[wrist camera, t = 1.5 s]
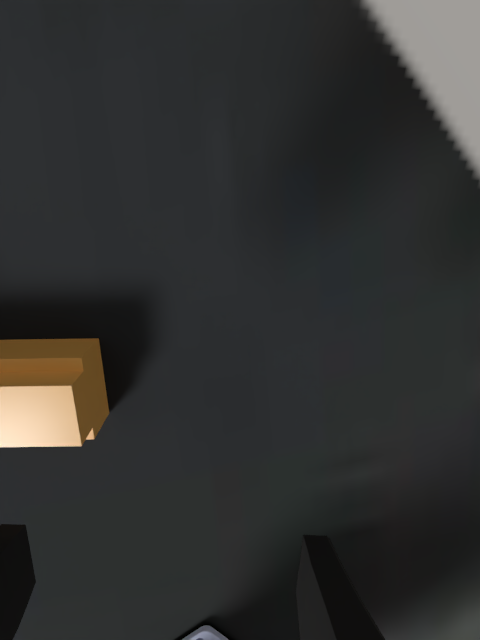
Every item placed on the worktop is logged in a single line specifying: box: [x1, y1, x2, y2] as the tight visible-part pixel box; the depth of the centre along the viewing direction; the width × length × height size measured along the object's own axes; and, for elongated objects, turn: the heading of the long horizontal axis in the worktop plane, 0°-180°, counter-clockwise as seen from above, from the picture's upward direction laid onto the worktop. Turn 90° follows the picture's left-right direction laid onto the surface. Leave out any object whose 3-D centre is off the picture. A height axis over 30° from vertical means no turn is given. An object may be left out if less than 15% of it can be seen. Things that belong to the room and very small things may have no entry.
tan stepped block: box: [0, 338, 109, 447], centre depth 18 cm, size 7×4×4 cm, turn 91°
